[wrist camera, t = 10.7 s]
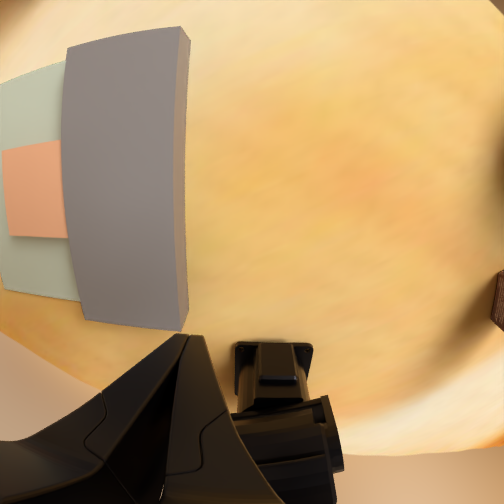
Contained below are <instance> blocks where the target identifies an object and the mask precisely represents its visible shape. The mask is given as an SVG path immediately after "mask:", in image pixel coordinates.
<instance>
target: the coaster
mask: <svg viewBox="0 0 504 504" xmlns="http://www.w3.org/2000/svg"><path fill="white" fill-rule="evenodd" d="M2 172H3V187H4V198H5V207H6V215H7V222H8V228H9V234H10V236H31V237H52V238H68V232H67V225H66V217H65V207H64V197H63V183H62V164H61V140H56V141H49V142H43V143H38V144H32V145H27V146H22V147H17V148H12V149H7V150H3V151H2Z"/></svg>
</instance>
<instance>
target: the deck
mask: <svg viewBox="0 0 504 504" xmlns="http://www.w3.org/2000/svg"><path fill="white" fill-rule="evenodd" d="M190 44H191V40H190V39H189V37H188V36H187V35H186V33H185V32H184V30H183V29H182V27H181V26H177V27H168V28H159V29H152V30H145V31H139V32H133V33H127V34H122V35H117V36H112V37H108V38H104V39H99V40H95V41H91V42H87V43H84V44H80V45H77V46H73V47H70V48H68V49H67V56H66V64H65V72H64V82H63V95H62V114H61V164H62V183H63V197H64V207H65V217H66V225H67V232H68V240H69V246H70V252H71V258H72V264H73V269H74V274H75V279H76V284H77V289H78V293H79V298H80V302H81V306H82V310H83V314H84V318H85V320H90V321H97V322H103V323H110V324H118V325H125V326H133V327H141V328H150V329H159V330H169V331H180V332H181V331H182V328H183V325H184V322H185V319H186V316H187V314H188V311H189V303H188V286H187V266H186V239H185V129H186V104H187V85H188V69H189V56H190Z"/></svg>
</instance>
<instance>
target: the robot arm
mask: <svg viewBox="0 0 504 504" xmlns="http://www.w3.org/2000/svg"><path fill="white" fill-rule="evenodd" d="M239 347H243V349H240V348H239ZM305 349H309V350H305ZM312 355H313V346H312V345H311V344H309V343H259V342H238V343H237V344H236V346H235V395H237V396H238V405H237V413H231V414H230V412H229V410H228V407H227V404H226V402H225V399H224V396H223V393H222V390H221V387H220V384H219V381H218V379H217V376H216V373H215V370H214V367H213V364H212V360H211V357H210V354H209V351H208V348H207V345H206V342H205V339H204V336H202V335H190V336H189V335H188V334H179V333H176V334H174V335H173V336H172V337H171V338H169V339H168V340H167V341H165V342H164V343H163V344H162V345H160V346H159V347H158V348H157V349H155V350H154V351H153V352H151V353H150V354H149V355H148V356H146V357H145V358H144V359H142V360H141V361H140V362H139V363H137V364H136V365H135V366H134V367H132V368H131V369H130V370H128V371H127V372H126V373H124V374H123V375H122V376H121V377H119V378H118V379H117V380H115V381H114V382H113V383H112V384H110V385H109V386H108V387H106V388H105V389H104V390H102V393H98V394H97V395H96V396H94V397H93V398H92V399H91V400H89V401H88V402H86V403H85V404H84V405H82V406H81V407H79V408H78V409H76V410H75V411H73V412H71V413H70V414H69V415H67V416H65V417H63V418H62V419H60V420H58V421H57V422H55V423H53V424H52V425H50V426H48V427H46V428H44V429H43V430H41V431H39V432H37V433H36V434H34V435H32V436H30V437H28V438H25V439H22V440H18V441H0V504H336V502H337V496H336V490H335V484H334V478H333V474H334V473H338V472H342V471H344V462H343V456H342V450H341V444H340V439H339V435H338V430H337V426H336V423H335V419H334V416H333V412H332V408H331V405H330V401H329V398H328V395H325V396H321V398H317V399H313V400H310V397H309V392H308V386H307V378H308V373H309V369H310V364H311V360H312ZM163 485H164V487H163ZM162 489H163V492H162ZM161 492H162V496H161ZM160 496H161V498H160ZM159 500H160V501H159Z"/></svg>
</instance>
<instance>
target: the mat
mask: <svg viewBox="0 0 504 504" xmlns="http://www.w3.org/2000/svg"><path fill="white" fill-rule="evenodd" d="M65 64H66V60H65V61H62V62H59V63H55V64H52V65H49V66H46V67H43V68H40V69H37V70H35V71H32V72H29V73H26V74H24V75H21V76H19V77H16V78H14V79H11V80H9V81H7V82H4V83H2V84H0V274H1V278H2V282H3V285H4V289H7V290H12V291H18V292H23V293H29V294H35V295H40V296H47V297H53V298H59V299H66V300H73V301H80V298H79V293H78V289H77V284H76V279H75V274H74V269H73V264H72V258H71V252H70V246H69V240H68V238H52V237H31V236H10V234H9V228H8V222H7V215H6V207H5V198H4V187H3V172H2V151H3V150H7V149H12V148H17V147H22V146H27V145H32V144H38V143H43V142H49V141H56V140H61V114H62V95H63V82H64V72H65Z"/></svg>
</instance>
